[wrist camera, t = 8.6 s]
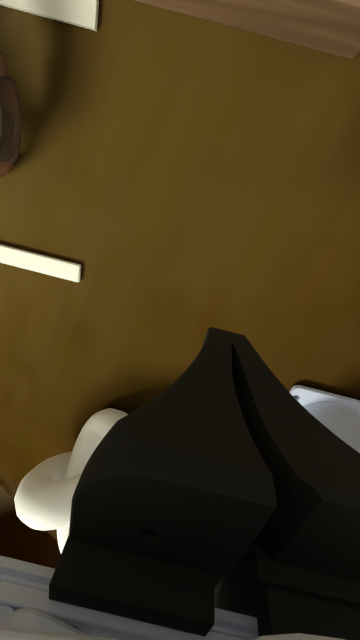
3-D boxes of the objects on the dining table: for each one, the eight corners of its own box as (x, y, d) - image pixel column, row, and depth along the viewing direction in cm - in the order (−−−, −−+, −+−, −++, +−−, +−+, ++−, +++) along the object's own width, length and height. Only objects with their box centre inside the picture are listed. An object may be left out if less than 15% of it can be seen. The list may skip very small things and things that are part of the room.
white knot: (64, 474, 32) (15, 577, 24) (41, 387, 26) (-34, 486, 18) (169, 486, 31) (153, 598, 23) (169, 399, 25) (148, 508, 17)
